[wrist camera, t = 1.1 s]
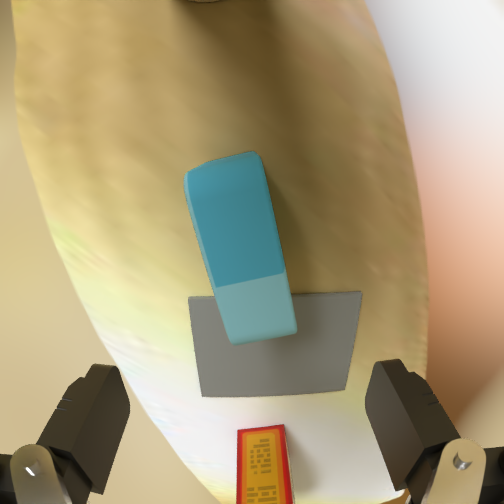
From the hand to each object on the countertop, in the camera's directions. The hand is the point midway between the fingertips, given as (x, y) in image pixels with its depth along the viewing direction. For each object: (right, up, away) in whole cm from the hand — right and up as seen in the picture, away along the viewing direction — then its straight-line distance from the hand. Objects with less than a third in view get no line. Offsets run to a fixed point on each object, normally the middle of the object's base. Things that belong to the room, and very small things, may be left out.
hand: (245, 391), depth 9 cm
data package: (0, +7, +21) cm, 22 cm away
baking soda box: (+2, -25, +32) cm, 41 cm away
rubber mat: (+3, -7, +26) cm, 27 cm away
